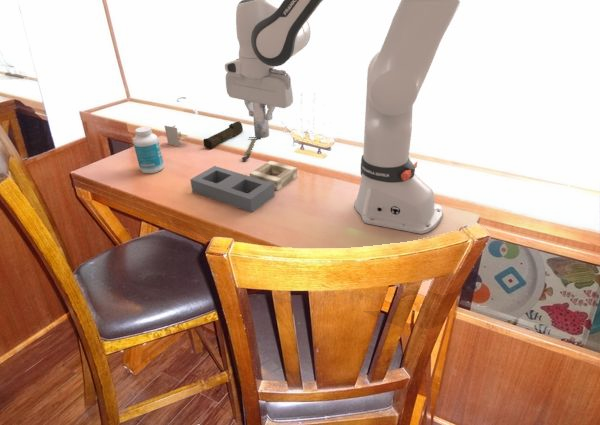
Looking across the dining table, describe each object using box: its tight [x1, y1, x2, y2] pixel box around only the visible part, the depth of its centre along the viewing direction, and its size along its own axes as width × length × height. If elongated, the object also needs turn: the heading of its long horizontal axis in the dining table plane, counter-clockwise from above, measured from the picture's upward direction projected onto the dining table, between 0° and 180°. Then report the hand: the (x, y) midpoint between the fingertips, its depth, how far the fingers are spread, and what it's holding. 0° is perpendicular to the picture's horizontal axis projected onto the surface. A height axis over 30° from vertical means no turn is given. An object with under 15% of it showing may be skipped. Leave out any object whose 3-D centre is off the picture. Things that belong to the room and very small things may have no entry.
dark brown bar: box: [202, 121, 244, 150], centre depth 157 cm, size 19×4×5 cm, turn 144°
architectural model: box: [164, 125, 188, 148], centre depth 154 cm, size 3×7×7 cm, turn 61°
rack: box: [189, 165, 275, 213], centre depth 123 cm, size 22×10×4 cm, turn 56°
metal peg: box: [252, 102, 270, 139], centre depth 120 cm, size 4×4×10 cm
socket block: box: [249, 160, 298, 191], centre depth 130 cm, size 10×10×3 cm
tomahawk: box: [241, 136, 262, 161], centre depth 150 cm, size 21×7×1 cm, turn 173°
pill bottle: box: [132, 126, 165, 174], centre depth 136 cm, size 8×7×14 cm
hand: (260, 117), depth 120 cm, fingers closed on metal peg, 4 cm apart
